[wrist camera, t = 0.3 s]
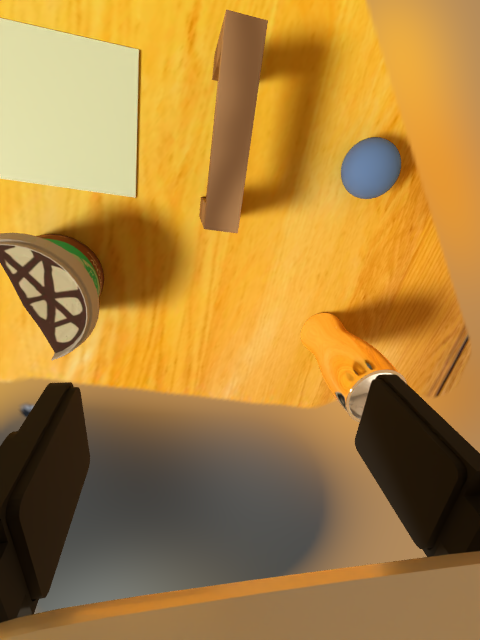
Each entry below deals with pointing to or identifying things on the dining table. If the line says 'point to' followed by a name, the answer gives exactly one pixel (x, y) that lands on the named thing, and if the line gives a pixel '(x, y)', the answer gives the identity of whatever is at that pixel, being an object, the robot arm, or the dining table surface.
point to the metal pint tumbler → (344, 361)
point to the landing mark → (67, 110)
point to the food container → (55, 285)
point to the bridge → (232, 118)
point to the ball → (371, 168)
